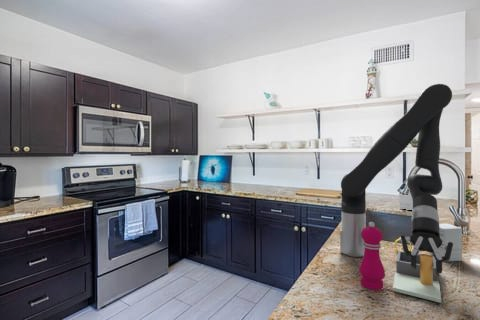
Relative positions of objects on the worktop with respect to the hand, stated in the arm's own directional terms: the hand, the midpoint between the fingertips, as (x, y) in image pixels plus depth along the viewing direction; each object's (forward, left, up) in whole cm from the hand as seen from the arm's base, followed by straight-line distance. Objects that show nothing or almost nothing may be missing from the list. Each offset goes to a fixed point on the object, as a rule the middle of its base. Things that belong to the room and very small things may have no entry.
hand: (426, 271), depth 77 cm
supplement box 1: (-7, +128, -6) cm, 128 cm away
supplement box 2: (+7, +34, -6) cm, 35 cm away
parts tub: (-2, +12, -6) cm, 14 cm away
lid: (-2, -1, -6) cm, 7 cm away
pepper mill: (-14, -5, -6) cm, 16 cm away
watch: (-7, +32, -6) cm, 33 cm away
